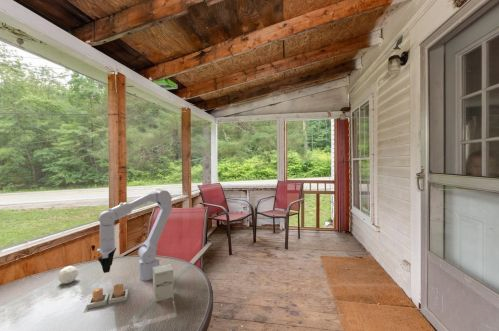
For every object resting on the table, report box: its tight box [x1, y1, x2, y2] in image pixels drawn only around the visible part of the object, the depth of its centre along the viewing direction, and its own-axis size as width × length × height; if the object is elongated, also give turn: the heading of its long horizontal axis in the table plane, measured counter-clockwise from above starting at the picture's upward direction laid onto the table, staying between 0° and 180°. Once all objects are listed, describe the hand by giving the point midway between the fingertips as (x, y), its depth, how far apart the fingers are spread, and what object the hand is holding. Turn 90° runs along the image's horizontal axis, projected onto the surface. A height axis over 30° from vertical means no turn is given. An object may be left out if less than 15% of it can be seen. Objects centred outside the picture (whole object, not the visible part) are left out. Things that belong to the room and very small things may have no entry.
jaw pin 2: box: [113, 283, 124, 298], centre depth 98 cm, size 3×3×5 cm
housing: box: [83, 288, 131, 313], centre depth 96 cm, size 15×11×3 cm
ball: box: [57, 265, 79, 285], centre depth 115 cm, size 8×8×8 cm
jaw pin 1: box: [92, 287, 104, 303], centre depth 95 cm, size 3×3×5 cm
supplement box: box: [152, 263, 175, 303], centre depth 99 cm, size 7×7×13 cm
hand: (107, 268), depth 106 cm, fingers open, 7 cm apart
